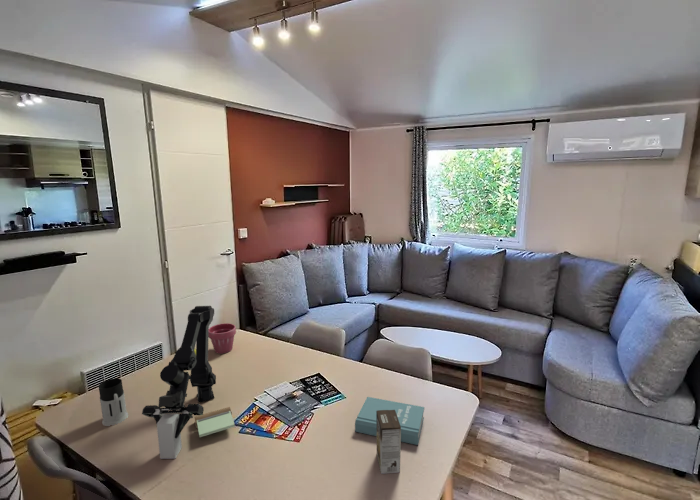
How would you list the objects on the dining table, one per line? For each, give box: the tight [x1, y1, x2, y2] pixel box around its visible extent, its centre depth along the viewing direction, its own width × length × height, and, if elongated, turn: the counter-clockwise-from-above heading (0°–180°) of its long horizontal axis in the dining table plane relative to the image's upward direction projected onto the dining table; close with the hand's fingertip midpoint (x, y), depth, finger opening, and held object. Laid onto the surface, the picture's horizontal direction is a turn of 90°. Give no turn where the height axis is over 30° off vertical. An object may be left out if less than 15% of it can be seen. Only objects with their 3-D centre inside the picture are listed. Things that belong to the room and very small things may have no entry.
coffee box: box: [376, 410, 402, 475], centre depth 117 cm, size 9×6×16 cm
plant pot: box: [208, 322, 237, 355], centre depth 199 cm, size 14×14×13 cm
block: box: [156, 413, 182, 460], centre depth 123 cm, size 5×5×13 cm
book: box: [354, 396, 425, 446], centre depth 137 cm, size 23×16×5 cm
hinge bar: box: [193, 406, 233, 429], centre depth 141 cm, size 4×13×2 cm, turn 118°
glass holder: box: [98, 377, 129, 427], centre depth 140 cm, size 9×14×15 cm, turn 44°
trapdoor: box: [197, 411, 236, 438], centre depth 134 cm, size 9×12×1 cm
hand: (167, 438), depth 121 cm, fingers closed on block, 5 cm apart
